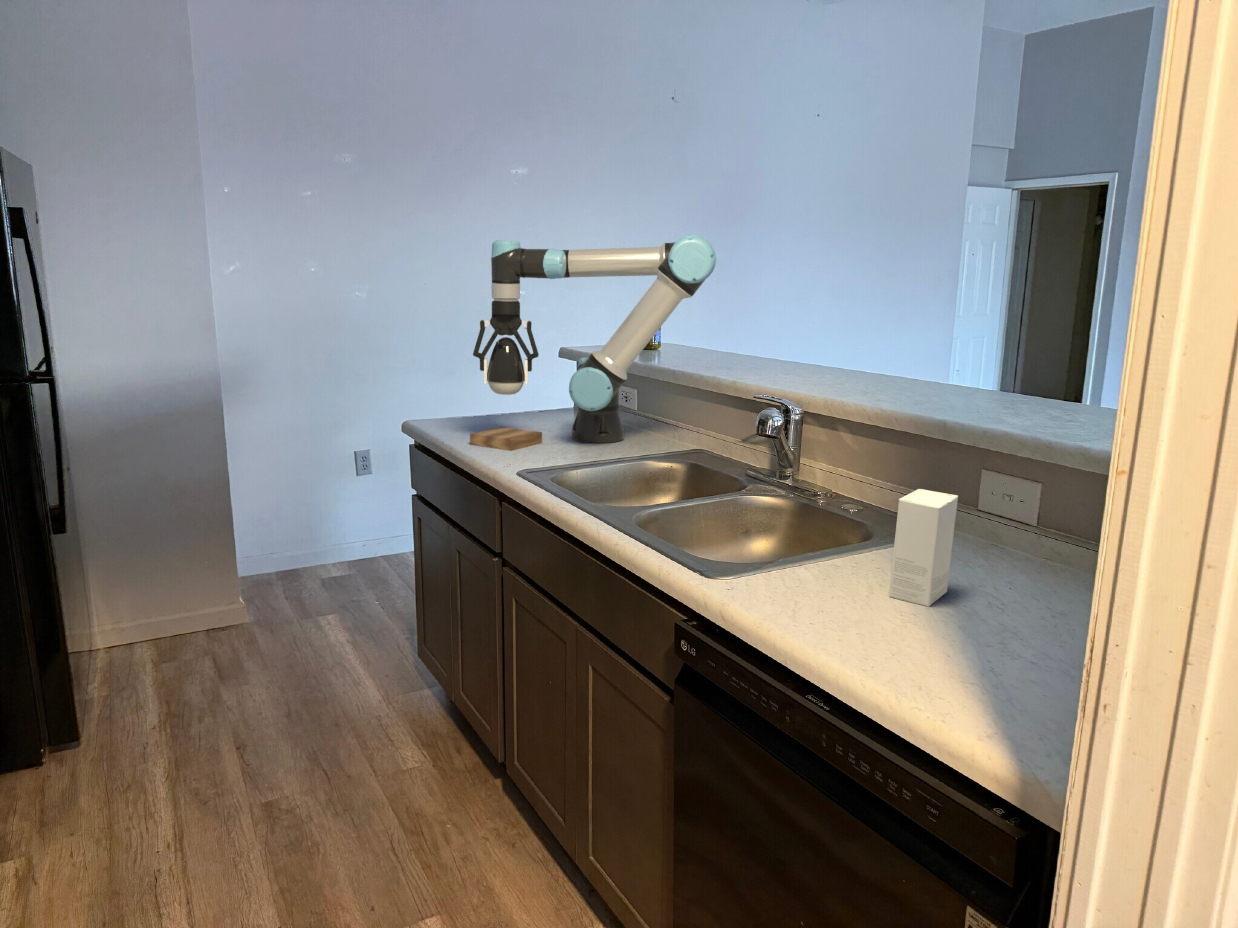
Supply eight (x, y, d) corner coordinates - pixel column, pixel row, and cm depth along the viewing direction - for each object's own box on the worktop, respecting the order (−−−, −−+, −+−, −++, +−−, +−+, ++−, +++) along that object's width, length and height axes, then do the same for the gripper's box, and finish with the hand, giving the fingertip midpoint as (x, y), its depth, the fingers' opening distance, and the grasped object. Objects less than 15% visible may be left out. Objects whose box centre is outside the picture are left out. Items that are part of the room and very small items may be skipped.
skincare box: (908, 583, 140) (917, 487, 137) (950, 593, 136) (961, 495, 133) (887, 597, 134) (896, 497, 131) (930, 608, 130) (941, 505, 127)
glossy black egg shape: (479, 394, 239) (479, 337, 236) (497, 389, 249) (497, 335, 245) (514, 397, 236) (514, 339, 233) (530, 392, 245) (531, 337, 242)
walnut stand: (541, 442, 248) (542, 432, 247) (511, 450, 236) (511, 439, 235) (501, 437, 254) (501, 426, 254) (470, 444, 243) (470, 433, 242)
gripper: (548, 300, 242) (547, 382, 246) (463, 298, 239) (464, 381, 244) (548, 301, 234) (548, 385, 239) (461, 299, 232) (462, 384, 237)
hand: (506, 383), depth 242 cm, fingers closed on glossy black egg shape, 10 cm apart
